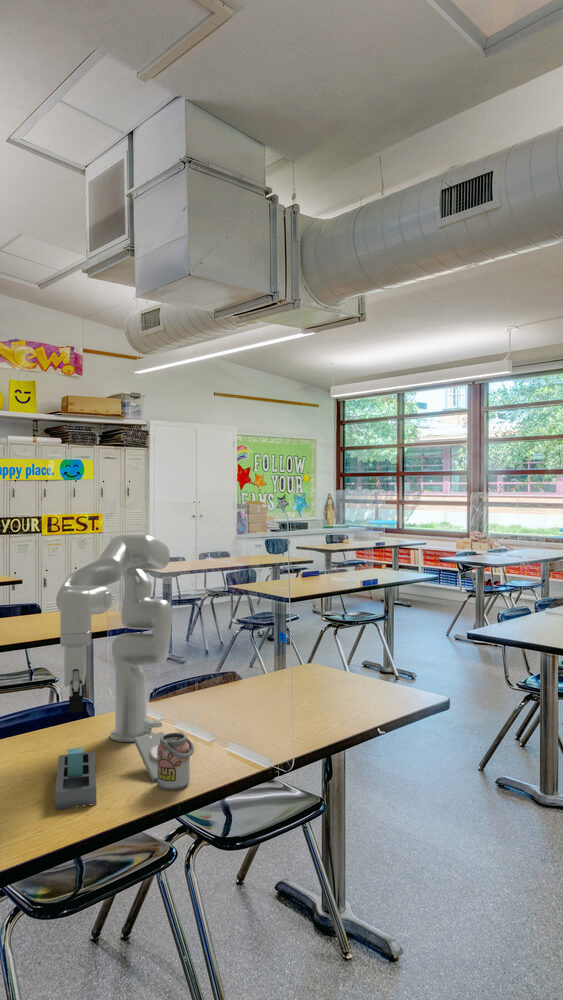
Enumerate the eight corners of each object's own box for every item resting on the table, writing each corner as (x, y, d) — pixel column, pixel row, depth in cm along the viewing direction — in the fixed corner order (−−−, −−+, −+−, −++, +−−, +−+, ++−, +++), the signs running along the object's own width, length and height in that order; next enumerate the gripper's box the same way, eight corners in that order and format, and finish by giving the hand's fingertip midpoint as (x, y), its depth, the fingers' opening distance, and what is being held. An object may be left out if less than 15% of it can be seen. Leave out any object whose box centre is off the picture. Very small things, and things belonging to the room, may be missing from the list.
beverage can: (199, 781, 161) (199, 734, 161) (182, 794, 153) (182, 745, 154) (169, 775, 165) (169, 729, 165) (150, 788, 157) (150, 740, 157)
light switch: (154, 776, 160) (134, 735, 171) (149, 793, 162) (131, 751, 173) (184, 768, 165) (163, 728, 176) (179, 784, 167) (159, 744, 178)
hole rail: (94, 765, 171) (94, 751, 172) (96, 804, 149) (96, 787, 149) (58, 770, 169) (58, 755, 169) (55, 810, 146) (55, 793, 146)
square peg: (82, 782, 161) (82, 747, 161) (82, 788, 157) (82, 752, 158) (68, 784, 160) (67, 749, 160) (67, 790, 156) (67, 754, 157)
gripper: (61, 633, 167) (61, 698, 166) (59, 646, 150) (59, 718, 150) (90, 631, 169) (91, 695, 169) (91, 644, 152) (92, 714, 152)
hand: (76, 706), depth 159 cm, fingers open, 9 cm apart
